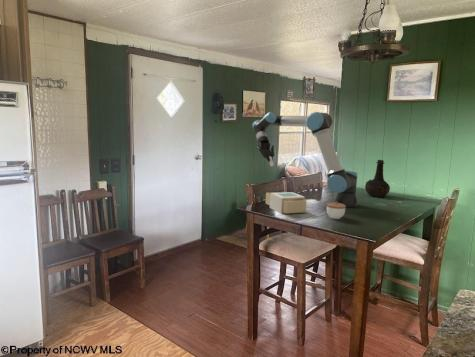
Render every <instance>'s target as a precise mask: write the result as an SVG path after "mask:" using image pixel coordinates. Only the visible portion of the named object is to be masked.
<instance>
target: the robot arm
mask: <svg viewBox="0 0 475 357" xmlns="http://www.w3.org/2000/svg"><path fill="white" fill-rule="evenodd" d="M332 124H333V117H332V116H331V115H330V114H329V113H327V112H319V111H314V112H311V113H310V114H308V115H276V114H275V113H274V112H272V111H269V112H267V113H265V115H264V116H263V118H261V119H259V120H255V121H253V123H252V124H251V125H252V130H253V132H254V134H255V136H256V141H257V143H258V145H257V147H256V149H258V150H259V152H260V154H261V156H262V158H264V159H265V160H267V162H268V163H269V166H270V167H273V166H274V165H275V163H274V157H275V151H274V150H275V148H274V147H275V145H274V144H273V145H271V143H270V140H269V137H268V135H267V133H266V130H267V129H268V128H269V127H270V126H274V127H275V126H276V127H301V128H302V127H304V128H305V127H306V128H307V129H308V130H310V131H311V133H312V136H314V137H315V138H316V141H317V143H318V146H319V149H320V150H319V151H320V152H321V155H322V158H323V161H324V164H325V167H326V169H327V174H326V178H327V181H326V185H327V188H328V190H330V192H333V193H335V194H336V195H335V198H334V200H333V203H335V202H337V203H341V204H344V205H346V208H356V207H358V199H357V194H356V191H357V183H358V172H356V171H350V170H346V169H345V168H343V167H342V165H341V162H340V160H339V157H338V155H337V151H336V148H335V146H334V143H333V141H332V138H331V135H330V131H331V127H332Z"/></svg>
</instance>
